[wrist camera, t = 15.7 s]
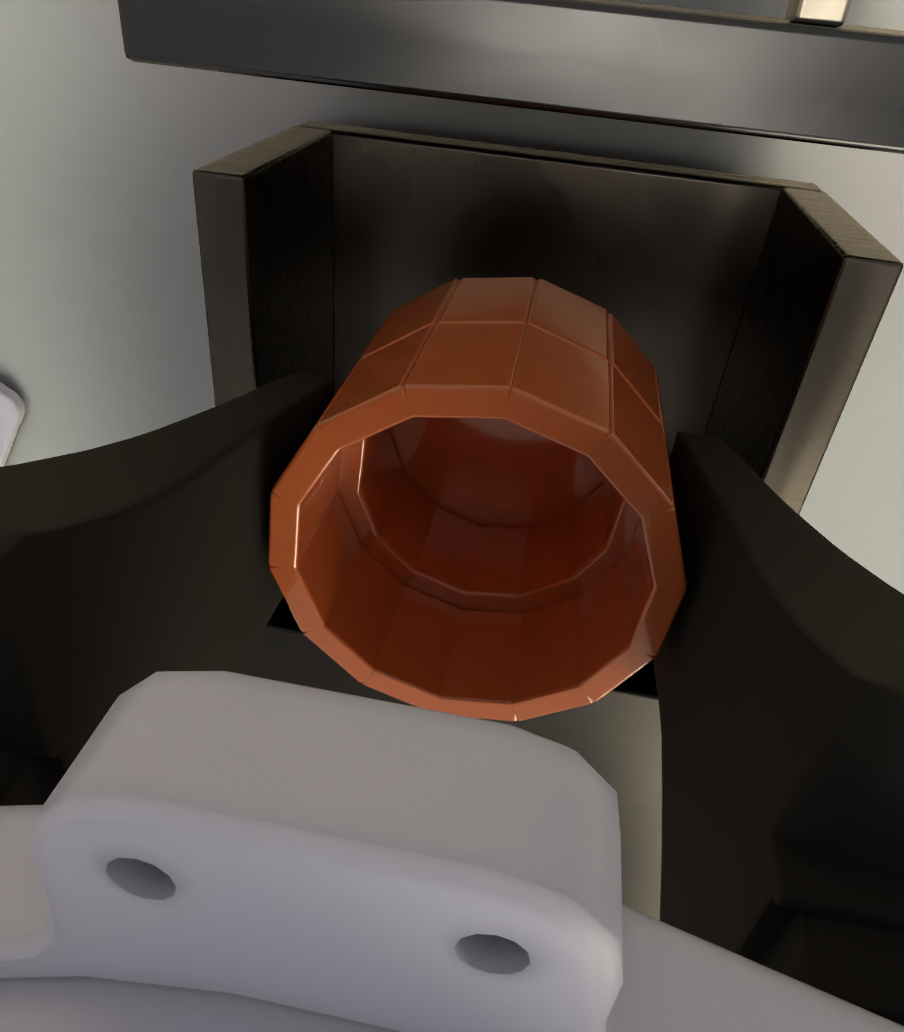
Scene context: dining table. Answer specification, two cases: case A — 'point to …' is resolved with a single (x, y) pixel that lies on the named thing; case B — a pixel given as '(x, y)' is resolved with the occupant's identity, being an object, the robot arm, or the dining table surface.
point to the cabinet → (586, 729)
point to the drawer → (553, 194)
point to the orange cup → (486, 506)
